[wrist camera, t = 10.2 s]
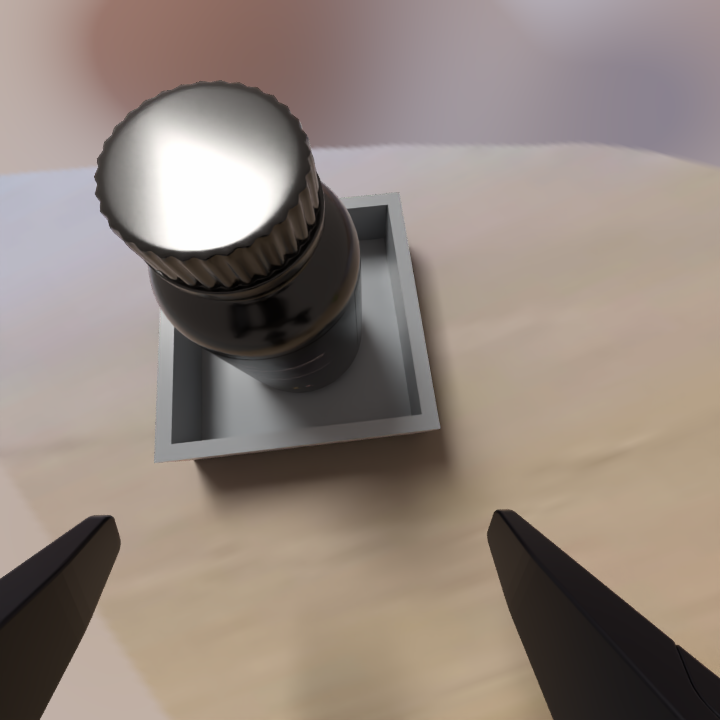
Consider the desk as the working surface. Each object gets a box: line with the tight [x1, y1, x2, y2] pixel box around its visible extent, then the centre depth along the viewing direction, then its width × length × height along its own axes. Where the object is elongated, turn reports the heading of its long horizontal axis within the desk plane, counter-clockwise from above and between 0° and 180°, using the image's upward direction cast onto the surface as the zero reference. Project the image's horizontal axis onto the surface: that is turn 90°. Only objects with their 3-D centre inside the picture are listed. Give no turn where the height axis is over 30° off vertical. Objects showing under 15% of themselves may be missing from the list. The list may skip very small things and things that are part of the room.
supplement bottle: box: [94, 80, 362, 393], centre depth 13 cm, size 7×7×12 cm
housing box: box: [154, 192, 440, 463], centre depth 18 cm, size 12×12×4 cm
